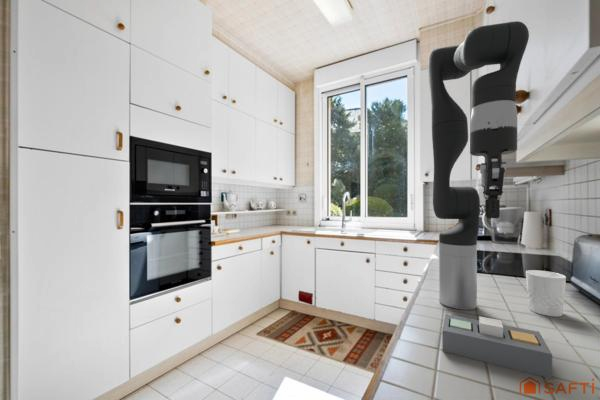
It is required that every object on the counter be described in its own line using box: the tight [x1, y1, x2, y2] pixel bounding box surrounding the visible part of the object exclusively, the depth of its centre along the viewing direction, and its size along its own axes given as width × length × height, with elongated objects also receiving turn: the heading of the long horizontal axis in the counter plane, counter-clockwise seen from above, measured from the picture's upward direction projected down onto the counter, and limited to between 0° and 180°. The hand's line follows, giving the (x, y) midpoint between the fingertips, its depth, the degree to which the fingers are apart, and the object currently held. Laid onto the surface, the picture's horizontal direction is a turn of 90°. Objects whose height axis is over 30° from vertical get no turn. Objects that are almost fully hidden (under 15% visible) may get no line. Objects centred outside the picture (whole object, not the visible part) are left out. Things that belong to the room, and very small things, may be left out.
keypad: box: [442, 313, 553, 379], centre depth 53 cm, size 9×16×4 cm, turn 59°
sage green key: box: [450, 319, 471, 331], centre depth 55 cm, size 4×4×2 cm
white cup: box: [525, 269, 567, 317], centre depth 72 cm, size 8×8×10 cm
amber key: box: [510, 330, 539, 345], centre depth 50 cm, size 4×4×2 cm
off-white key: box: [478, 316, 504, 338], centre depth 53 cm, size 4×4×2 cm
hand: (492, 217), depth 53 cm, fingers closed
